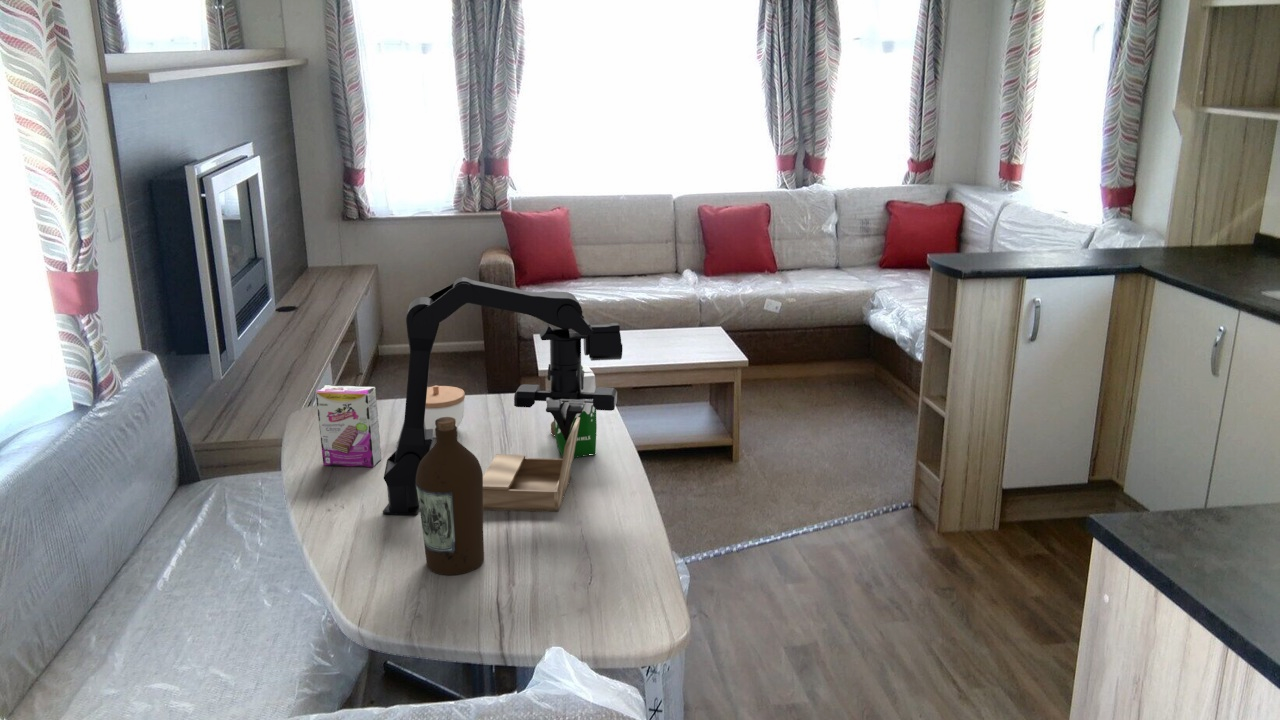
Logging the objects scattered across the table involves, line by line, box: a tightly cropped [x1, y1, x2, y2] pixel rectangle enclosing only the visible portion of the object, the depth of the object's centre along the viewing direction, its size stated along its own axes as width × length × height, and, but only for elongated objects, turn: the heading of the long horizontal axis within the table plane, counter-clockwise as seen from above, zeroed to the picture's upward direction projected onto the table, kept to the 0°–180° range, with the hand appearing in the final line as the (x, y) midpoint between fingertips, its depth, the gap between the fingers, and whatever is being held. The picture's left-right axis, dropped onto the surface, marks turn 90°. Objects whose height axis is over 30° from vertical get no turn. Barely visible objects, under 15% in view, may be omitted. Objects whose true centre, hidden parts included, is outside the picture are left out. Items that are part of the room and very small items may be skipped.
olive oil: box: [416, 417, 485, 576], centre depth 154 cm, size 11×11×25 cm
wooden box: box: [483, 457, 572, 512], centre depth 184 cm, size 16×15×4 cm
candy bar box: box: [315, 384, 383, 468], centre depth 197 cm, size 11×5×16 cm, turn 84°
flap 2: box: [557, 417, 580, 492], centre depth 181 cm, size 16×9×1 cm
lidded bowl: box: [425, 385, 466, 439], centre depth 215 cm, size 13×13×11 cm
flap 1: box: [483, 453, 526, 490], centre depth 183 cm, size 16×6×1 cm, turn 175°
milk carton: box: [553, 364, 598, 458], centre depth 202 cm, size 9×9×20 cm
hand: (566, 440), depth 180 cm, fingers closed
